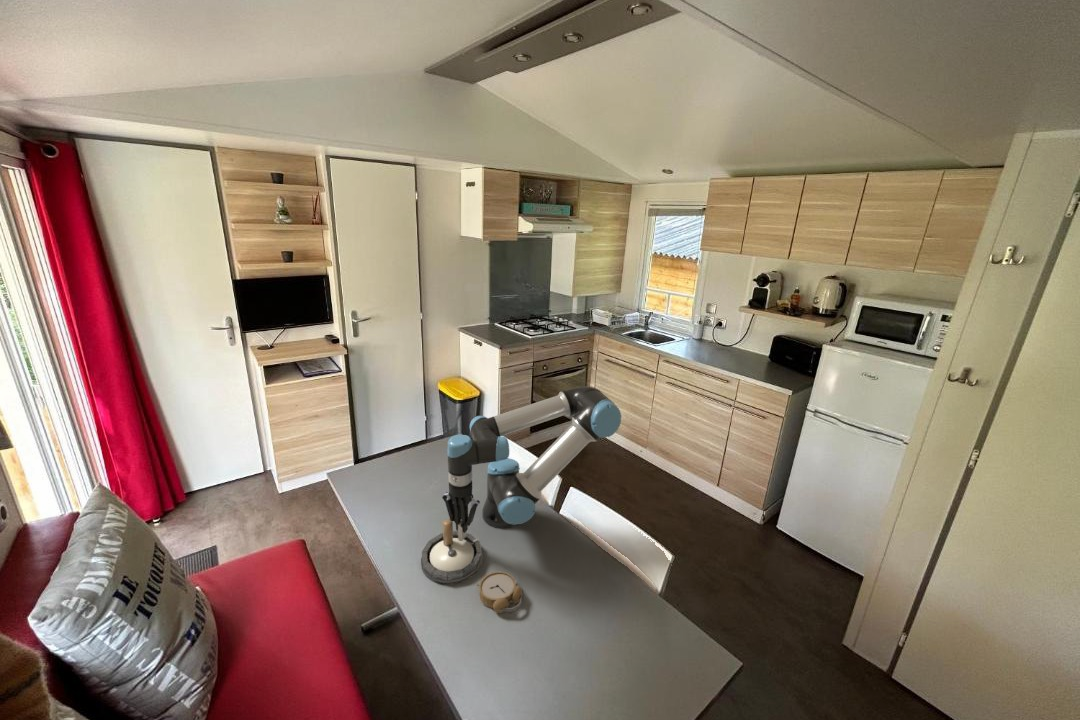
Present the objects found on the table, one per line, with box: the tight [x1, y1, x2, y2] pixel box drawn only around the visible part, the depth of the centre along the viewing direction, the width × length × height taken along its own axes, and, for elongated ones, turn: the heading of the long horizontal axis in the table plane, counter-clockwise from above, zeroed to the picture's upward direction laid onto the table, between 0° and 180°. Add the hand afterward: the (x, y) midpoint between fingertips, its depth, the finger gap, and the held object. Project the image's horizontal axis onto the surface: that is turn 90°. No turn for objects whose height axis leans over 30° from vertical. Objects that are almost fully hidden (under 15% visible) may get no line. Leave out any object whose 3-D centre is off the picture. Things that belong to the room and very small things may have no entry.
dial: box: [430, 518, 474, 572], centre depth 143 cm, size 14×14×10 cm
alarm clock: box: [476, 571, 524, 614], centre depth 132 cm, size 11×5×15 cm
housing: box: [420, 530, 483, 585], centre depth 145 cm, size 20×20×4 cm
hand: (462, 538), depth 149 cm, fingers closed
